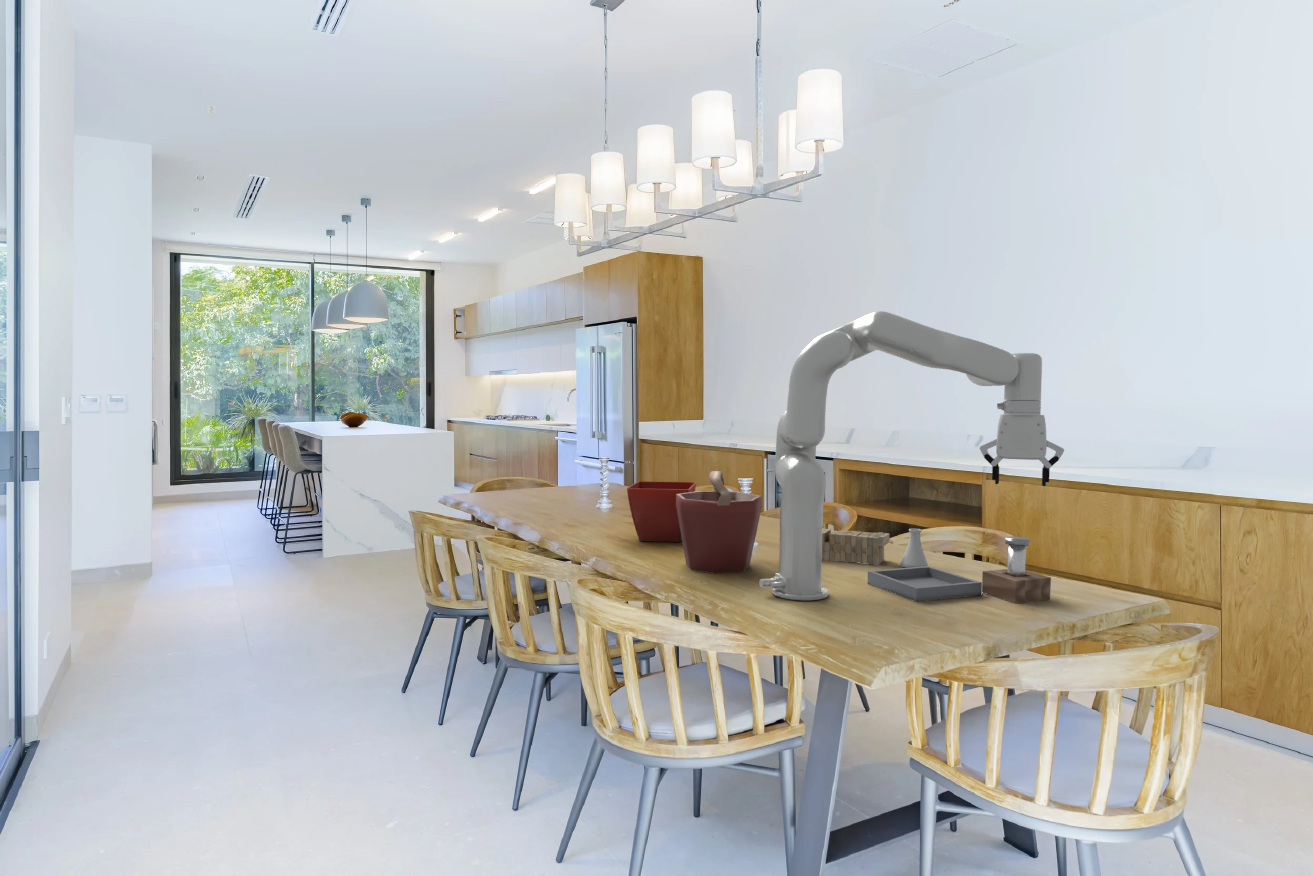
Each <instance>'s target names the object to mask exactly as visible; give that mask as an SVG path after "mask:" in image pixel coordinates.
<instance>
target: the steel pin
mask: <svg viewBox="0 0 1313 876" xmlns="http://www.w3.org/2000/svg"><path fill="white" fill-rule="evenodd" d="M1004 544H1006V545H1008V549H1007V551H1008V553H1007V569H1008V575H1010V576H1013V577H1025V571H1026V558H1027V557H1026V556H1027V555H1026V554H1027V547H1028V546H1030V545H1031V539H1030V538H1028V537H1021V536H1005V537H1004Z"/></svg>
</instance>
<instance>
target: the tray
mask: <svg viewBox="0 0 1313 876" xmlns="http://www.w3.org/2000/svg"><path fill="white" fill-rule="evenodd" d="M868 583H870V584H871V586H873V585H874V587H876V586H877V587H876V588H878V587H880V588H879V589H881V588H882V589H881V590H884V589H885V591H886V590H888V591H887V592H889V591H891V592H893V593H892V594H894V593H896V594H895V595H897V596H899V595H900V596H899V597H902V596H903V597H902V598H905V599H907V598H908V599H907V600H910V599H911V600H910V601H912V600H914V601H913V602H915V601H920V602H927V601H926V600H930V601H937V600H936V599H940V600H948V599H947V598H950V599H955V598H956V597H960V598H966V597H965V596H970V597H977V595H980V596H982V581H979V580H975V579H972V578H968V577H966V576H963V575H960V574H959V575H958V574H956V573H953V572H949V571H947V570H942V569H940V568H936V567H934V566H930V565H928V566H924V567H912V568H905V567H902V568H891V569H877V570H868V571H867V584H868ZM870 584H869V585H870ZM891 592H890V593H891ZM956 599H957V598H956Z"/></svg>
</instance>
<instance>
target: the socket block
mask: <svg viewBox="0 0 1313 876" xmlns="http://www.w3.org/2000/svg"><path fill="white" fill-rule="evenodd" d="M981 580H982V581H981V582H982V591H981V593H982V592H983V593H982V594H985V593H987V594H986V595H988V596H992V597H995V598H997V599H1001V600H1003V599H1004V601H1006V600H1007V601H1006V602H1009V601H1010V602H1009V603H1012V602H1013V603H1012V604H1022V602H1024V603H1031V602H1032V601H1033V602H1041V601H1050V600H1051V587H1052V586H1051V581H1052V578H1051V577H1050V576H1047V575H1043V574H1039V573H1035V572H1032V571H1027V570H1025V577H1013V576H1010V575H1008V568H1004V569H1002V568H1001V569H994V570H992V569H991V570H983V571H982V579H981ZM1033 602H1032V603H1033Z"/></svg>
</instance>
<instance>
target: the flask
mask: <svg viewBox="0 0 1313 876" xmlns="http://www.w3.org/2000/svg"><path fill="white" fill-rule="evenodd" d="M908 532H909V539H908V544H907V547H906V548H905V549H906V550H905V551H904V554H903V557H902V559H901V561H900V564H899V565H900V567H902V568H912V567H924V566H929V565H928V561H927V558H926V555H925V552H924V549H923V546H922V540H921V533H922V529H920V528H909V529H908Z"/></svg>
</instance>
